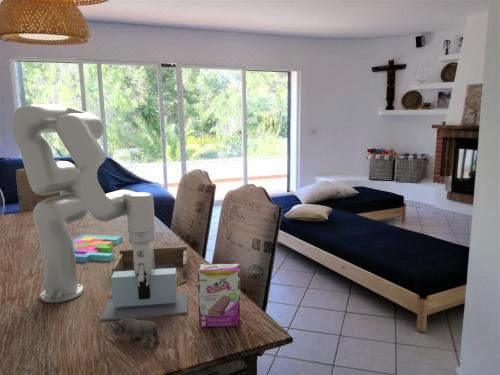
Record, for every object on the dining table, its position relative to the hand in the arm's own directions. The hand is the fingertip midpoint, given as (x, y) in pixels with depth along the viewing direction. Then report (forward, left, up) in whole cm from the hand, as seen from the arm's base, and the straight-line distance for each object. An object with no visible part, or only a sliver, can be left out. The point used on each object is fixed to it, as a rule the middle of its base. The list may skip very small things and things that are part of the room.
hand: (145, 294), depth 118 cm
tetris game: (+58, +28, -5) cm, 65 cm away
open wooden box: (+30, +1, -4) cm, 30 cm away
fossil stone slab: (+14, +1, -5) cm, 15 cm away
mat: (0, 0, -4) cm, 4 cm away
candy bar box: (-13, -21, -4) cm, 25 cm away
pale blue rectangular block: (0, 0, -2) cm, 2 cm away
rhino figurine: (-18, +1, -5) cm, 18 cm away
